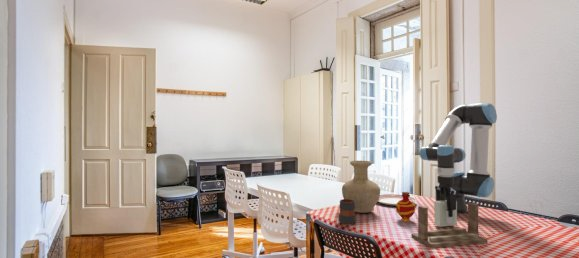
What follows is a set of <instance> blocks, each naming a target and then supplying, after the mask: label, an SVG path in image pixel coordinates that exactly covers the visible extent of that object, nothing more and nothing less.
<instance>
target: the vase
mask: <svg viewBox="0 0 579 258" xmlns="http://www.w3.org/2000/svg"><path fill="white" fill-rule="evenodd" d="M349 164H350V165H351V166H353V169H354V171H353V178H352V179H351V180H348V181H346V182H345V183H344V184H342V188H341V192H342V193H341V194H342V198H343V199H351V200H354V202H355V213H359V214H367V213H371V212H373V211H374V208H375V206H376V205H377V203H378V200H379V197H380V195H381V188H380V186H379V185H378V184H377V183H375V182H374V181H372V180H370V179H369V177H368V172H369V171H368V169H369V167H370V166H372V164H373V162H372V161H370V160H369V161H368V160H350V161H349Z"/></svg>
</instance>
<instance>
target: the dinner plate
mask: <svg viewBox="0 0 579 258" xmlns="http://www.w3.org/2000/svg"><path fill="white" fill-rule="evenodd" d="M401 195H402V194H392V193H391V194H390V193H389V194H388V193H387V194H380V197H379V200H378V201H377V203H380V204H382V205H385V206H389V207H390V206H392V207H396V204H397V203H398V201H400V200H402V199H403V197H402V196H401ZM408 199H410V201H412V202H413V203H414V204H415V203H416V202H417V198H415V197H412V196H410V197H408Z"/></svg>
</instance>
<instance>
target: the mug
mask: <svg viewBox="0 0 579 258" xmlns="http://www.w3.org/2000/svg"><path fill="white" fill-rule="evenodd" d="M355 213H356V212H355V202H354V200H351V199H344V198H343V199H340V200H339V213H338V221H339V223H340V224H342V225H347V226H352V225H354V224H355V223H356V214H355Z"/></svg>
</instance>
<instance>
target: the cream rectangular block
mask: <svg viewBox="0 0 579 258" xmlns="http://www.w3.org/2000/svg"><path fill="white" fill-rule="evenodd" d="M433 203H434V204H433V206H434V207H433V208H434V216H433V217H434V225H435V226H437V227H439V228H442V227H449V226H450V227H453V226H458V213H457V201H456V210H453V217H452V223H447V222H446V221H447V220H446V209H448V208H447V202H446V200H442V201H436V200H434V201H433Z"/></svg>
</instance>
